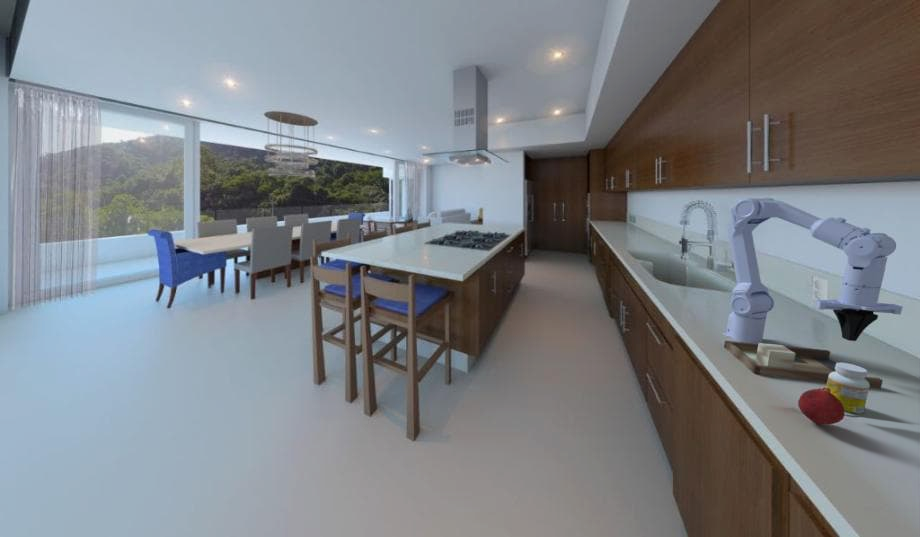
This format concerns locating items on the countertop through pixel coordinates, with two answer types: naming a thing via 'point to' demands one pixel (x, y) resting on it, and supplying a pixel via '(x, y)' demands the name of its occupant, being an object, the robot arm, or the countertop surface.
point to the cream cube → (775, 355)
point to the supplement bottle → (849, 387)
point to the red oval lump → (821, 406)
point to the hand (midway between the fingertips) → (848, 339)
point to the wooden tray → (805, 364)
